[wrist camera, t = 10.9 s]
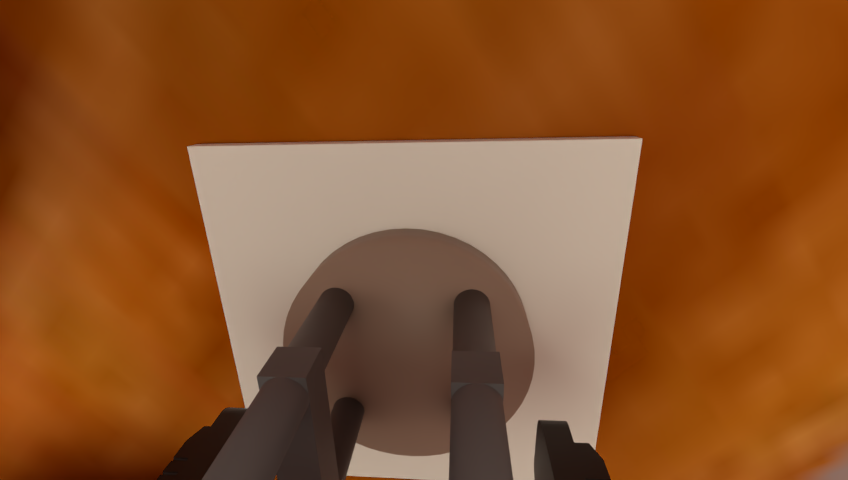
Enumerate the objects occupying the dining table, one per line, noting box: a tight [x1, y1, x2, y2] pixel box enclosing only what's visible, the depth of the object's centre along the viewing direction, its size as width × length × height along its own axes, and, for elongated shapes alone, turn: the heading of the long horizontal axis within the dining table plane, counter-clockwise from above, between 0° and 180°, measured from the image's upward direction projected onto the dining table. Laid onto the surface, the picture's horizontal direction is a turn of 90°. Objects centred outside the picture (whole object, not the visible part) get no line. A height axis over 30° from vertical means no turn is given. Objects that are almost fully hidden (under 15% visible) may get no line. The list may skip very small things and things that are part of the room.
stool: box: [202, 228, 535, 480], centre depth 12 cm, size 9×9×10 cm
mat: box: [187, 136, 642, 480], centre depth 17 cm, size 15×15×1 cm
